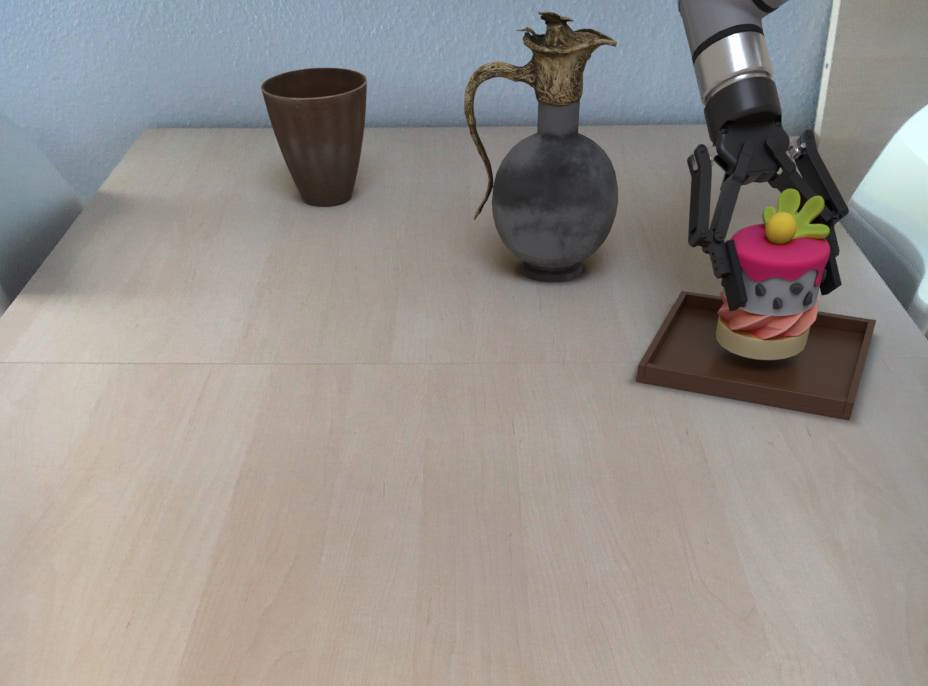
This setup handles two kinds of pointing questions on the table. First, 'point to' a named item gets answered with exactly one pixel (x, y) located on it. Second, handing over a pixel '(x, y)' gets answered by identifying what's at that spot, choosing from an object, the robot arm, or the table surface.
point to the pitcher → (550, 159)
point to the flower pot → (319, 129)
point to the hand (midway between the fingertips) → (785, 298)
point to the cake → (777, 281)
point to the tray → (759, 361)
